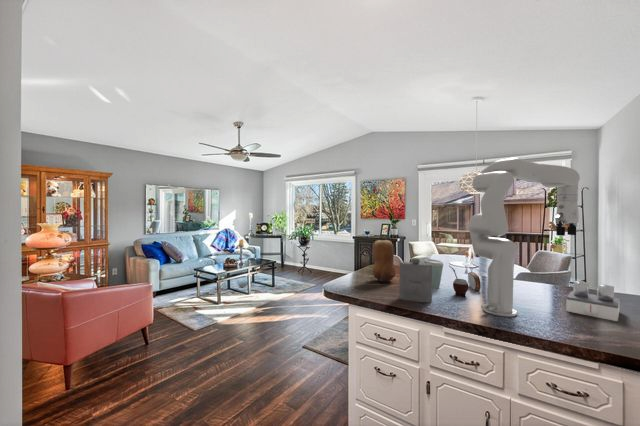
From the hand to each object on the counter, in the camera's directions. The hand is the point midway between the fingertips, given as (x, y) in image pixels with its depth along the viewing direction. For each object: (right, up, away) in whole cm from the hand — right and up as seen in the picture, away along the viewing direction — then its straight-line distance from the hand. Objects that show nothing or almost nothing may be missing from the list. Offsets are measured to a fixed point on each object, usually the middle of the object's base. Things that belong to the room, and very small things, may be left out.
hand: (566, 235), depth 141 cm
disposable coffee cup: (-51, -31, +29) cm, 67 cm away
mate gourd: (-44, -32, +12) cm, 56 cm away
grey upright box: (-69, -32, +4) cm, 76 cm away
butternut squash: (-77, -31, +39) cm, 92 cm away
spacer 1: (+1, -26, -7) cm, 27 cm away
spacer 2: (+6, -27, -13) cm, 30 cm away
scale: (+4, -33, -10) cm, 34 cm away
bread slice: (-30, -32, +26) cm, 51 cm away
